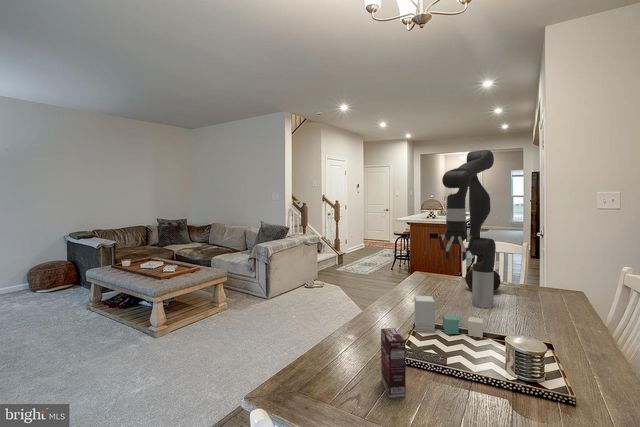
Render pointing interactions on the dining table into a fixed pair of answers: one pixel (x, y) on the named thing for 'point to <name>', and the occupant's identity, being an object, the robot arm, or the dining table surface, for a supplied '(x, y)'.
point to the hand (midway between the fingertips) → (455, 260)
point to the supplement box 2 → (424, 314)
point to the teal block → (450, 324)
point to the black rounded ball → (470, 276)
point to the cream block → (475, 326)
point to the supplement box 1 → (393, 362)
